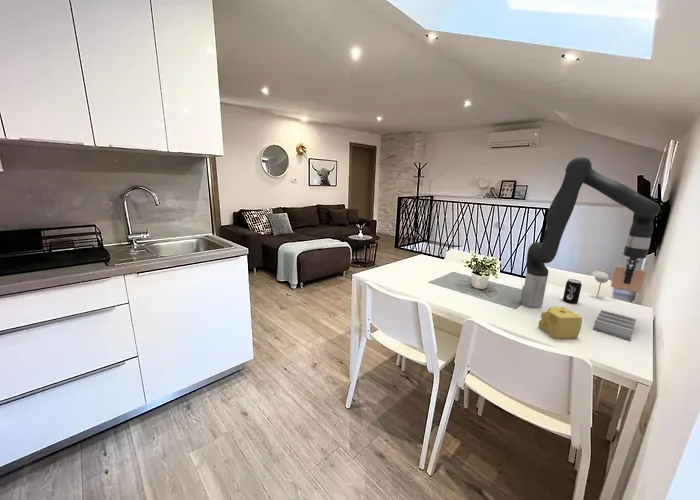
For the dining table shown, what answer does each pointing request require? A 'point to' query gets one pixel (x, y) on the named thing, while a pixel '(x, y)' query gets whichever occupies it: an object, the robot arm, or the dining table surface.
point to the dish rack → (615, 325)
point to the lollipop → (601, 279)
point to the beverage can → (572, 291)
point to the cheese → (560, 323)
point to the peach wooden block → (635, 281)
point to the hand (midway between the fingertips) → (627, 282)
